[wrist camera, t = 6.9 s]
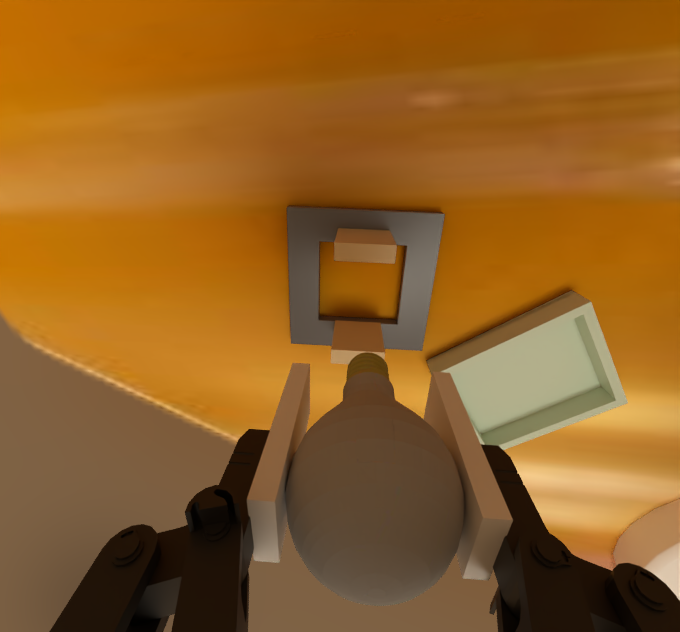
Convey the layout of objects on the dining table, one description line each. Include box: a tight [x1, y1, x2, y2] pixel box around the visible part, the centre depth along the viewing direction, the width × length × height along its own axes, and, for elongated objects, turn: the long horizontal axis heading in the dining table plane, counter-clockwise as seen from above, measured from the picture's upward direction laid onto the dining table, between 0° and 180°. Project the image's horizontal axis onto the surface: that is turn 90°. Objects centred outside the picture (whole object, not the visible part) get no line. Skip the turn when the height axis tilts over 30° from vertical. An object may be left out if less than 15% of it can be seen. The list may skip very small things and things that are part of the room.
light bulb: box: [285, 352, 464, 606], centre depth 12 cm, size 6×5×10 cm
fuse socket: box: [287, 205, 445, 364], centre depth 26 cm, size 12×12×6 cm
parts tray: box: [427, 291, 628, 450], centre depth 31 cm, size 14×12×2 cm
